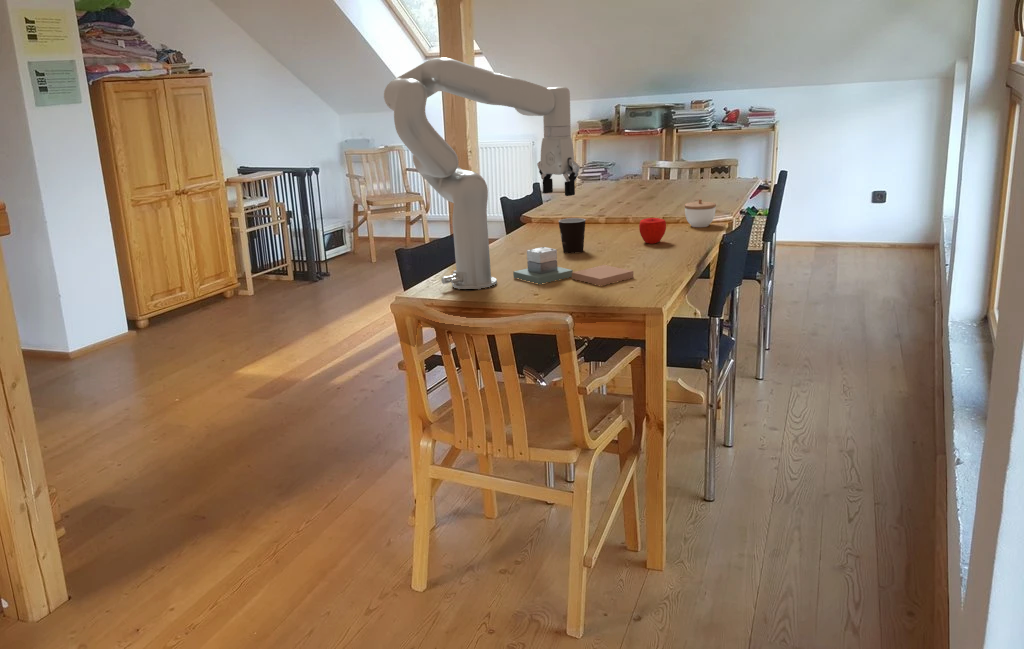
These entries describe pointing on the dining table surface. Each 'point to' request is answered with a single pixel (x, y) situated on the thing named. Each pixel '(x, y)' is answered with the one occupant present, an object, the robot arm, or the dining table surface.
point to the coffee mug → (572, 234)
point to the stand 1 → (543, 275)
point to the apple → (652, 229)
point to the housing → (542, 260)
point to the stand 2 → (602, 275)
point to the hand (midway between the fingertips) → (558, 194)
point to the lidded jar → (700, 213)
